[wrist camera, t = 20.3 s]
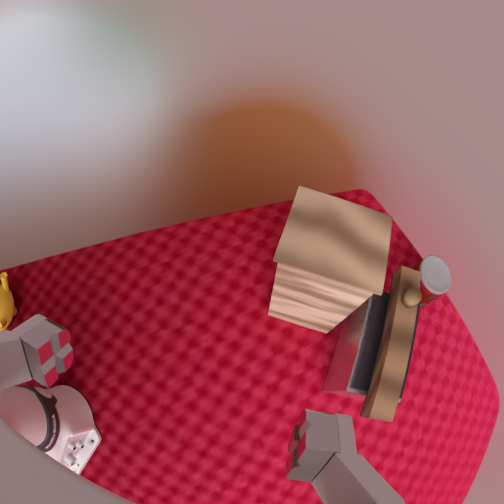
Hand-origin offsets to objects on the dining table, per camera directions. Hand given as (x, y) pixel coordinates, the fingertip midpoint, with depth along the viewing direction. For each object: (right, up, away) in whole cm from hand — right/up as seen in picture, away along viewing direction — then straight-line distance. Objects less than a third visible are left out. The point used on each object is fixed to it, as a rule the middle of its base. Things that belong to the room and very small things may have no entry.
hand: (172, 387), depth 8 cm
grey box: (+22, -16, +43) cm, 51 cm away
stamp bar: (+22, -9, +29) cm, 38 cm away
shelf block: (+13, -5, +49) cm, 51 cm away
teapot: (-61, -12, +46) cm, 77 cm away
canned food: (+38, -5, +49) cm, 62 cm away
